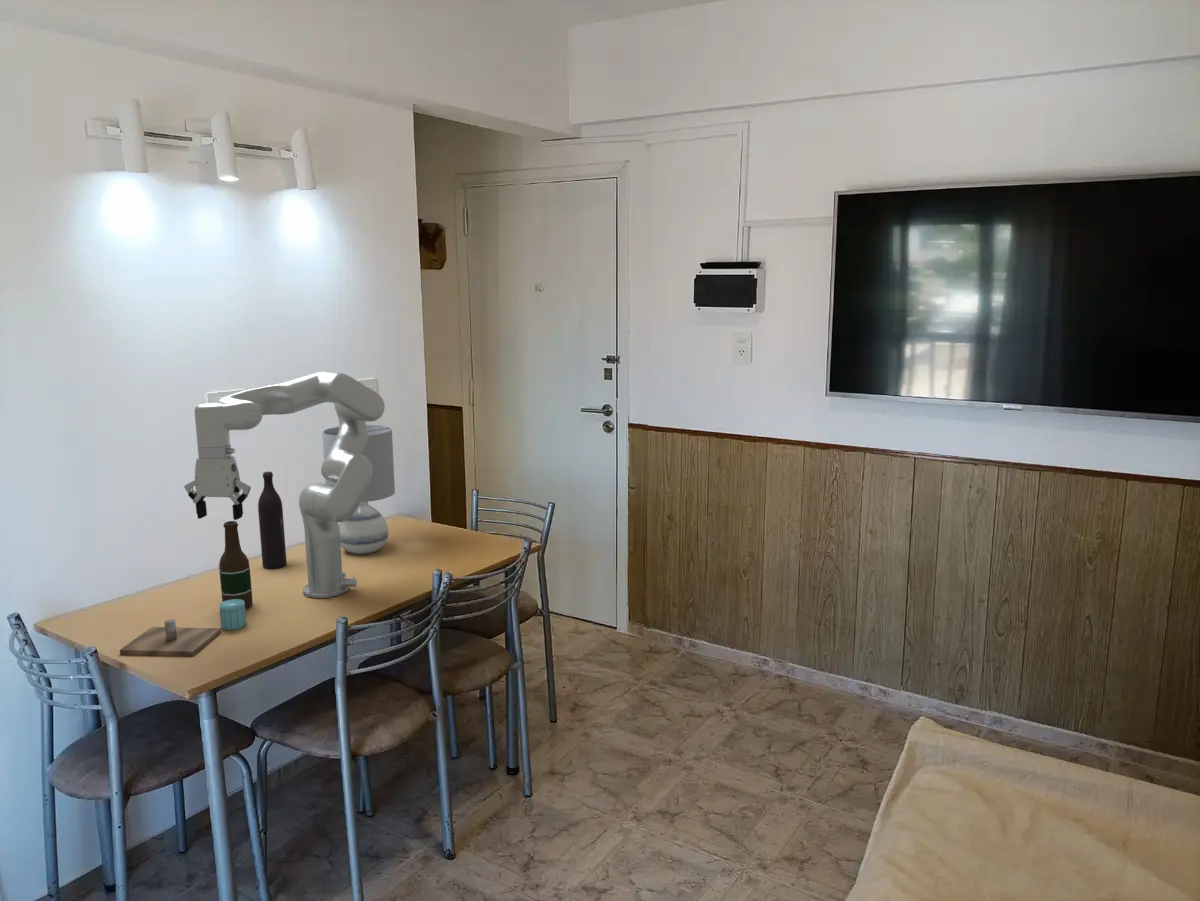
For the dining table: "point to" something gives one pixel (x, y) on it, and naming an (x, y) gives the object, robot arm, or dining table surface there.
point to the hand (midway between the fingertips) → (220, 517)
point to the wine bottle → (271, 525)
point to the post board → (171, 641)
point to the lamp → (368, 492)
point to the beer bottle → (234, 568)
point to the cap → (232, 614)
